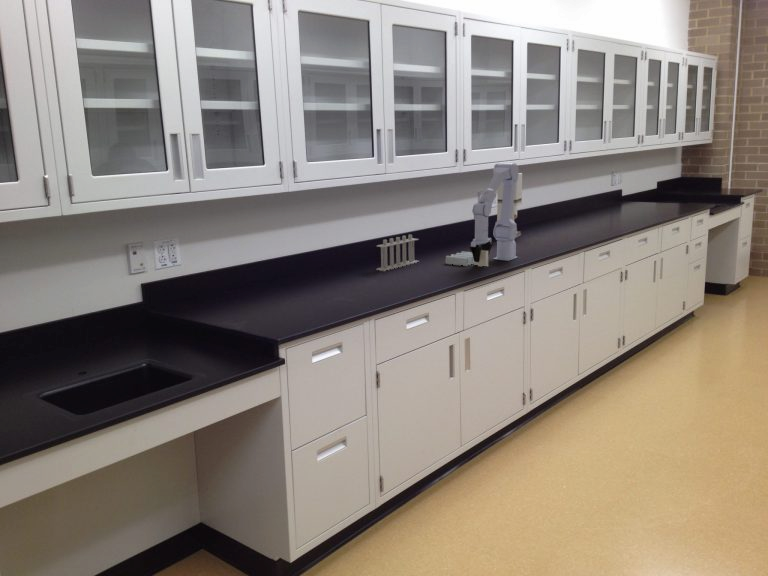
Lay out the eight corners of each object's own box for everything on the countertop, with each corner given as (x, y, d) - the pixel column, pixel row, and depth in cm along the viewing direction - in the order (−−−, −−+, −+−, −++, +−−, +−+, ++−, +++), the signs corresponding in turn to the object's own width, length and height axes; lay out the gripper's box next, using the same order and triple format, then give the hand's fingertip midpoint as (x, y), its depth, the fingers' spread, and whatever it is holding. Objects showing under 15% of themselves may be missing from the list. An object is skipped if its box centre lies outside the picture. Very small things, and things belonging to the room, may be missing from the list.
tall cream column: (515, 238, 373) (516, 174, 365) (496, 237, 378) (497, 174, 370) (520, 235, 383) (522, 173, 375) (502, 234, 388) (503, 172, 380)
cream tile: (476, 264, 301) (476, 249, 300) (488, 266, 298) (488, 250, 296) (474, 265, 300) (474, 250, 298) (485, 267, 296) (486, 251, 295)
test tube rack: (411, 261, 313) (411, 233, 310) (419, 262, 310) (418, 234, 307) (376, 270, 294) (375, 240, 291) (384, 271, 292) (383, 241, 289)
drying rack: (462, 258, 316) (462, 251, 315) (482, 261, 310) (482, 253, 309) (445, 263, 305) (445, 256, 304) (466, 266, 299) (466, 258, 298)
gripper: (481, 227, 303) (481, 257, 306) (465, 231, 292) (464, 262, 295) (495, 228, 299) (495, 258, 302) (479, 232, 288) (478, 263, 291)
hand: (481, 260), depth 298 cm, fingers open, 7 cm apart
